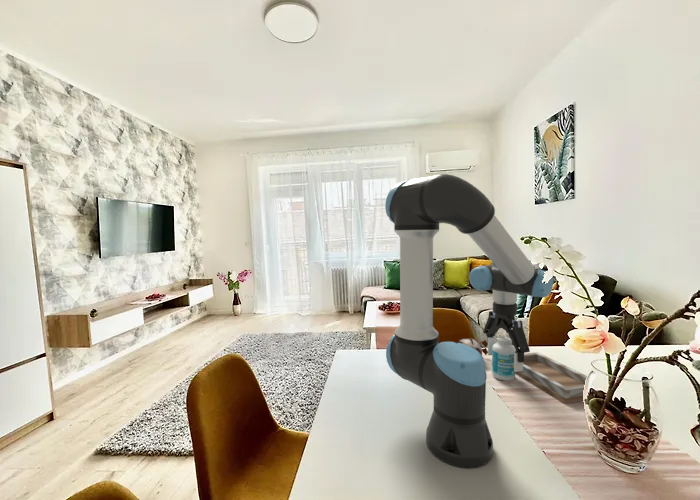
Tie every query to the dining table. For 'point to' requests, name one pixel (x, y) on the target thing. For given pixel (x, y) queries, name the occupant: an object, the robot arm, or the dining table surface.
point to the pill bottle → (503, 359)
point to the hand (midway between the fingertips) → (504, 362)
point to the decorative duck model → (475, 345)
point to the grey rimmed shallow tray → (553, 377)
